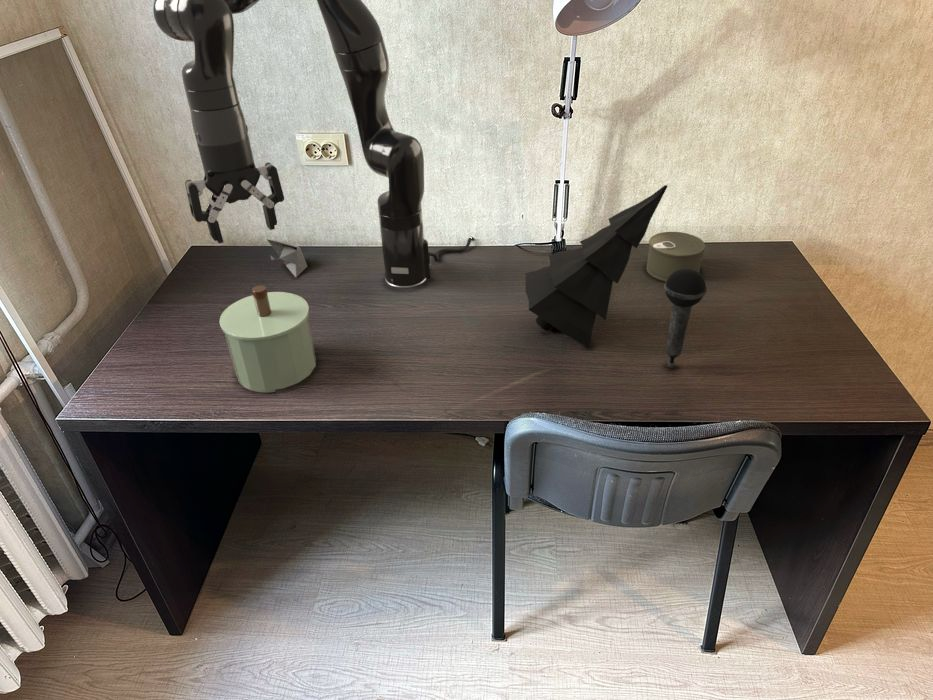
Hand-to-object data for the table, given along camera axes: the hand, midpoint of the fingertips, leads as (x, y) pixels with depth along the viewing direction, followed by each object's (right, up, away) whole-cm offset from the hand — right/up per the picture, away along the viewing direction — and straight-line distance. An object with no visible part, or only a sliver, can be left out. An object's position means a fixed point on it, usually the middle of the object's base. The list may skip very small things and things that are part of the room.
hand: (245, 234), depth 110 cm
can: (+83, -1, +43) cm, 93 cm away
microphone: (+73, -22, +13) cm, 78 cm away
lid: (0, -13, +9) cm, 16 cm away
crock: (+1, -22, +16) cm, 27 cm away
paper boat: (-6, +1, +49) cm, 50 cm away
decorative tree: (+60, -15, +24) cm, 66 cm away
